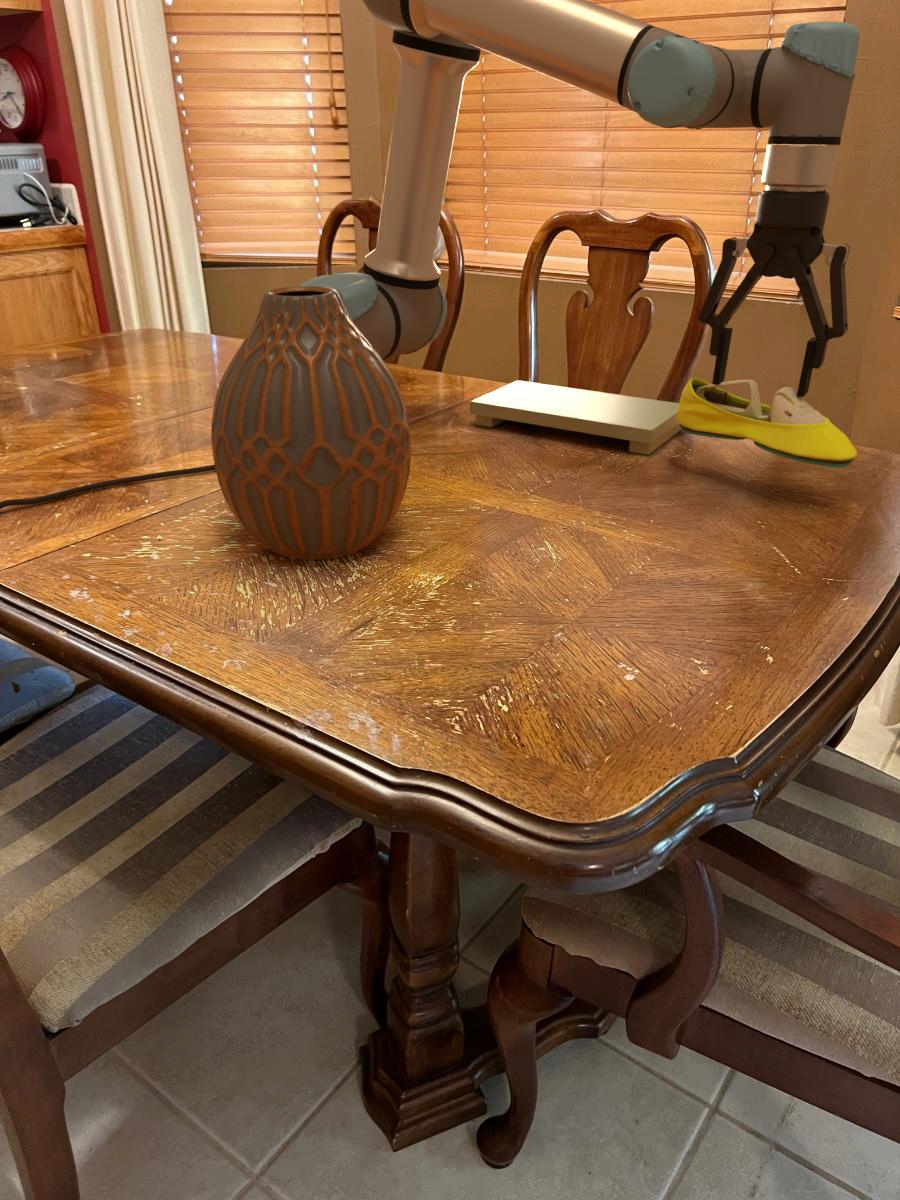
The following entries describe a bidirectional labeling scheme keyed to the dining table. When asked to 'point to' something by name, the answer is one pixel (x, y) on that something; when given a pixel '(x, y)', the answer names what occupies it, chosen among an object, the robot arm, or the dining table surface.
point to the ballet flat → (764, 423)
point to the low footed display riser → (581, 413)
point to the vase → (310, 430)
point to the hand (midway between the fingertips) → (759, 388)
